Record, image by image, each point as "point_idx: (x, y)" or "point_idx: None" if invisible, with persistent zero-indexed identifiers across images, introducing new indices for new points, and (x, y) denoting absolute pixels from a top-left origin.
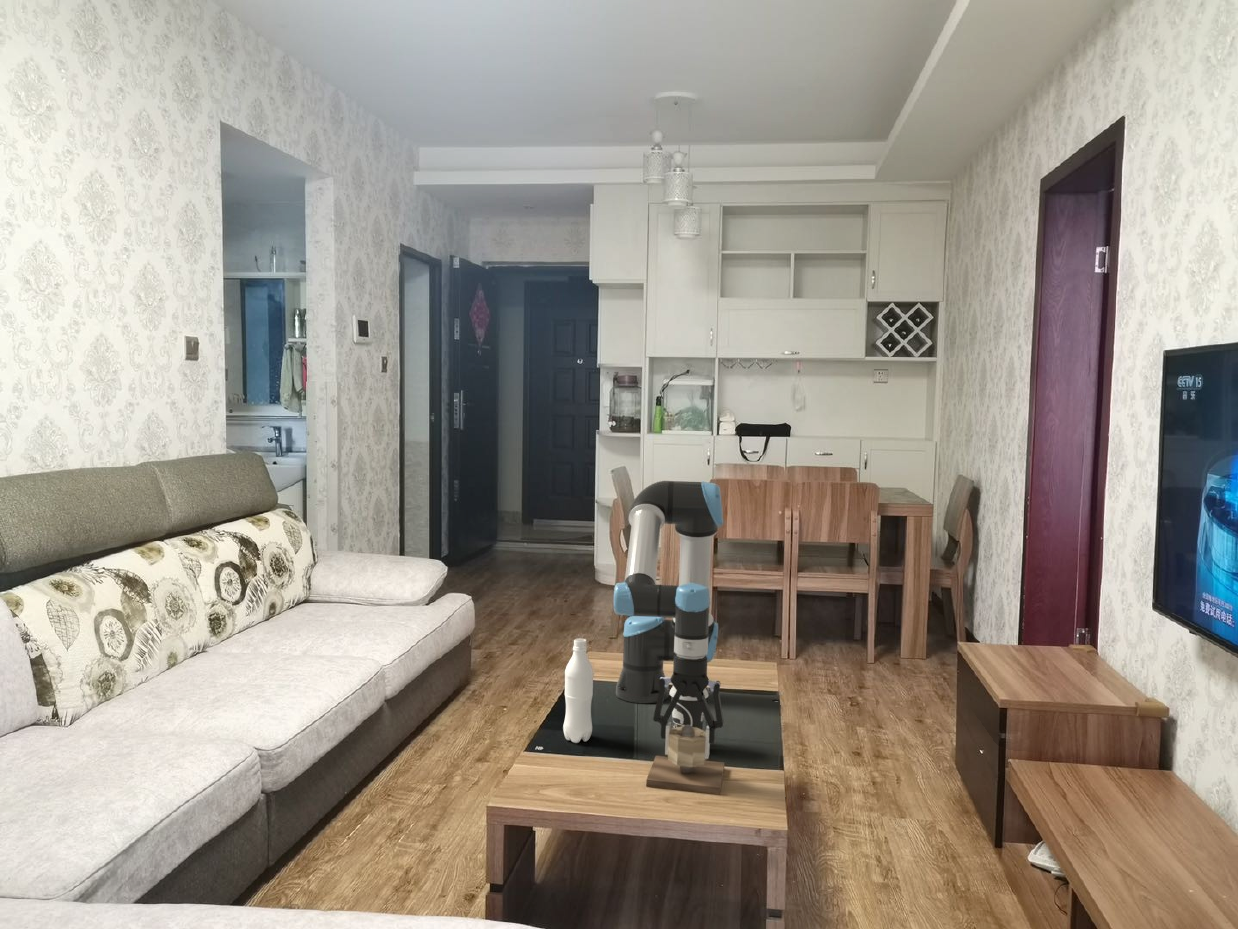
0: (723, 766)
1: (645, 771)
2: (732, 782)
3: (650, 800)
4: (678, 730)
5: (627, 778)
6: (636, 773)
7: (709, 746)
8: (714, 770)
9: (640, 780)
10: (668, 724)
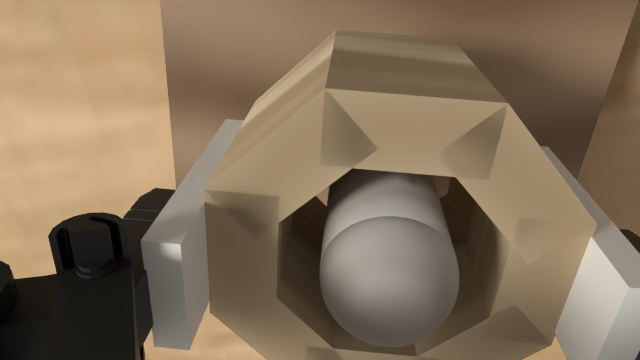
0: (633, 12)
1: (144, 66)
2: (633, 129)
3: (235, 338)
4: (288, 214)
5: (84, 166)
6: (106, 101)
7: (571, 175)
8: (553, 89)
9: (150, 178)
10: (168, 309)
